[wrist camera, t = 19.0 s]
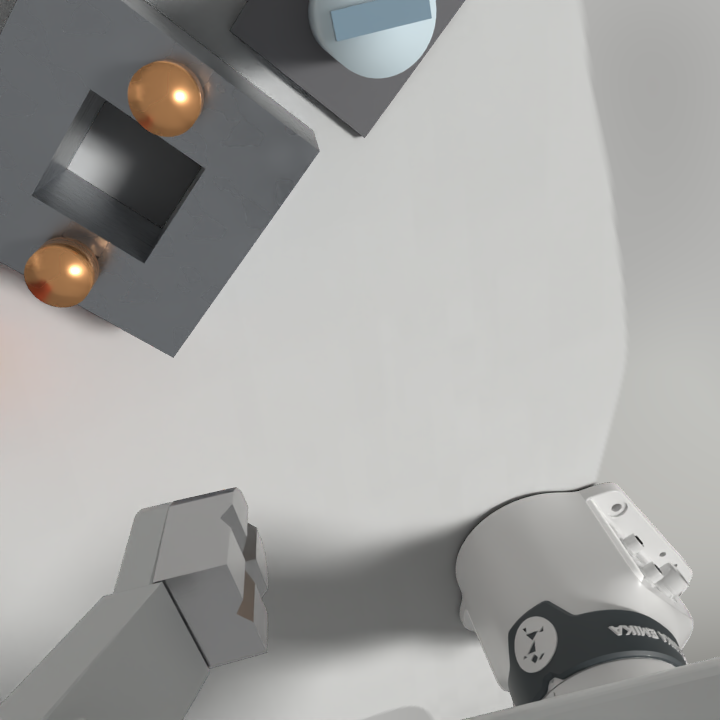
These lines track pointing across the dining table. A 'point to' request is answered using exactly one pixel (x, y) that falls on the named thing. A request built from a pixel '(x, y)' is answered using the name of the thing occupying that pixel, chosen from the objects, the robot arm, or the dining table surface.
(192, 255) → the housing
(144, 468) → the dining table surface
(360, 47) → the cartridge
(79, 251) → the copper knob
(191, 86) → the copper dome knob
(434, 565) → the dining table surface
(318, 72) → the pad
